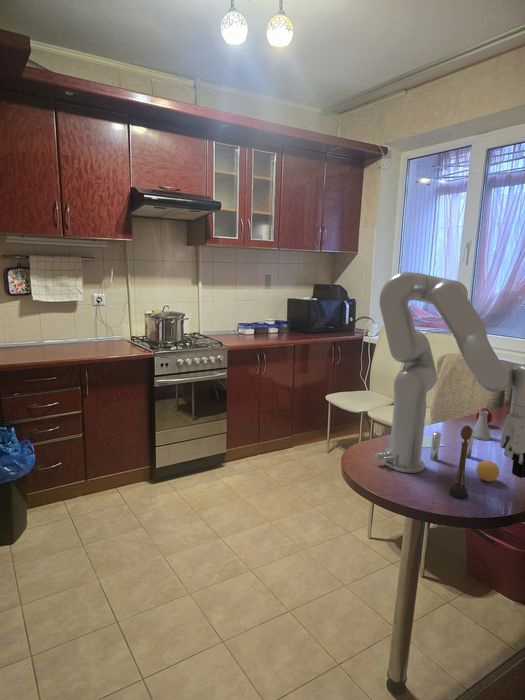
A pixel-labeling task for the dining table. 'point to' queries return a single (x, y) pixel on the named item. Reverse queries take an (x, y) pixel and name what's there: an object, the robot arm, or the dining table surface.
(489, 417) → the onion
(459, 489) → the wooden tabletop sculpture
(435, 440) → the left post
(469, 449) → the right post
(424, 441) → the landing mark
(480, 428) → the flask
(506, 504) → the dining table surface
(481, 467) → the ball
